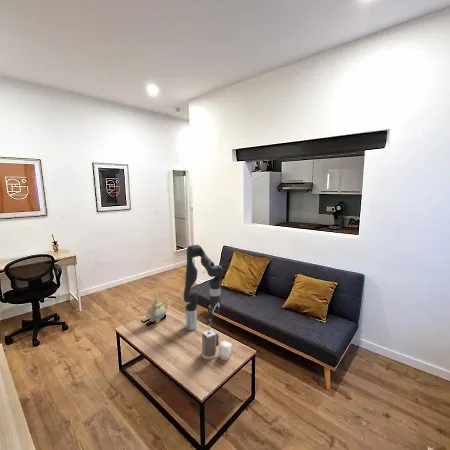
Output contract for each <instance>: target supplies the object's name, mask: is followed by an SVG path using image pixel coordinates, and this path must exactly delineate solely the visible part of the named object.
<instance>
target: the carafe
mask: <svg viewBox="0 0 450 450" xmlns="http://www.w3.org/2000/svg"><path fill="white" fill-rule="evenodd" d="M219 335H220V334H219V333H217V332H215V330H213V329H211V328H210V334H209V329H207V330H205V331H202V335H201V341H202V342H201V345H202V346H201V347H202V348H201V356H202V357H201V358H204V359H206V360H213V359H214V358H216V357H218V351H217V347H219V344H220V341H219V340H220V338H219Z"/></svg>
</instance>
